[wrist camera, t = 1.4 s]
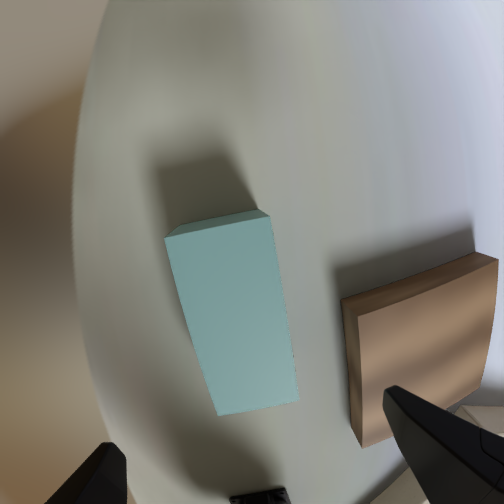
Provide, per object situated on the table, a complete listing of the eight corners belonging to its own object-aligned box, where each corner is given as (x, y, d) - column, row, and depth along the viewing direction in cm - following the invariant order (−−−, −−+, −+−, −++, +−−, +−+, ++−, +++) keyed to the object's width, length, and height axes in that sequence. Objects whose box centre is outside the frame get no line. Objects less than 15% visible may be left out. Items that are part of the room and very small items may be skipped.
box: (414, 514, 34) (518, 402, 29) (426, 537, 27) (542, 423, 21) (327, 529, 31) (457, 399, 26) (336, 562, 24) (490, 436, 18)
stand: (463, 374, 24) (479, 387, 21) (351, 427, 23) (362, 448, 20) (475, 251, 21) (498, 259, 18) (340, 299, 20) (357, 316, 17)
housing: (284, 358, 21) (299, 400, 16) (218, 371, 21) (217, 415, 16) (258, 208, 19) (269, 216, 14) (179, 225, 18) (163, 238, 13)
